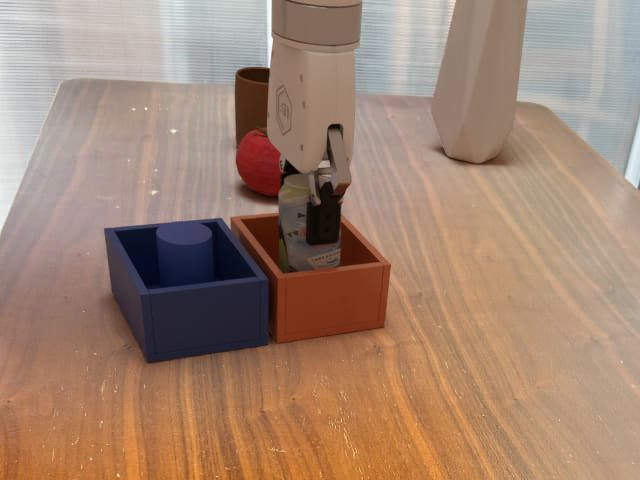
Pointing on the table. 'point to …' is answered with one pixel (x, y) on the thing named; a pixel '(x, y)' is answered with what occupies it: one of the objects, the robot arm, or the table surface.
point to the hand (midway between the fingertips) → (308, 226)
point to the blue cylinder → (184, 254)
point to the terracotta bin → (318, 283)
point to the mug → (251, 100)
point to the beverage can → (301, 229)
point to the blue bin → (187, 296)
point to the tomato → (259, 162)
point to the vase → (479, 78)
